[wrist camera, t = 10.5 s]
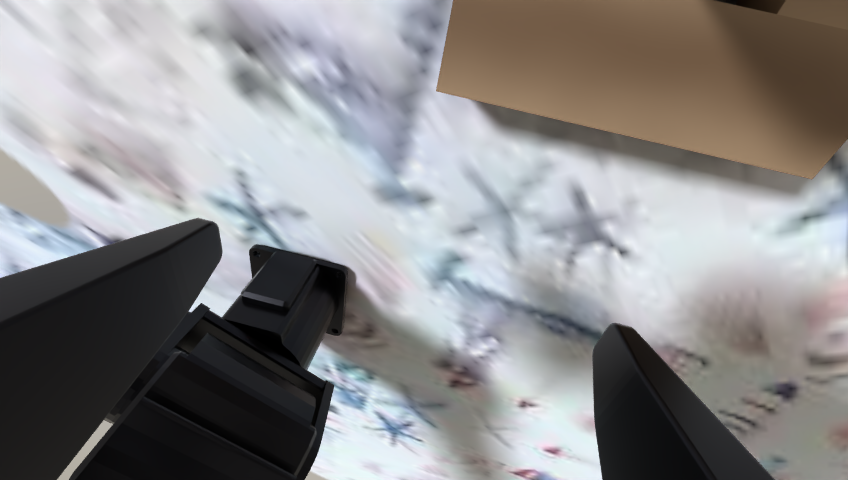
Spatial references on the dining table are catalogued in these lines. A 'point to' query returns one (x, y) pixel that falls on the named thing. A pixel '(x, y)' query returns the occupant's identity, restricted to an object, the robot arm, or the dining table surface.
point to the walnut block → (666, 71)
